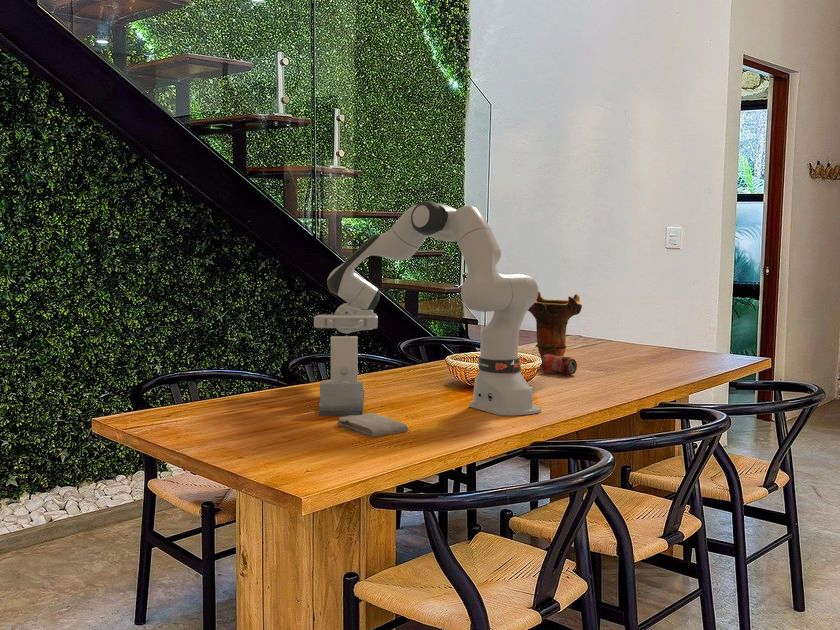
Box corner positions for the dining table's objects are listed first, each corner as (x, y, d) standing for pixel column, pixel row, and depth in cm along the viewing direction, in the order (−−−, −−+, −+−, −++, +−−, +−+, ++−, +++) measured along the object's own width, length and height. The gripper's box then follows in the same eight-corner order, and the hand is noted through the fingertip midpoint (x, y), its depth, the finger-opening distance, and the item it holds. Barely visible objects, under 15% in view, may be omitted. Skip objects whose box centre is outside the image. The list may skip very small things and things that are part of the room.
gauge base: (324, 395, 277) (323, 368, 276) (364, 395, 277) (364, 368, 276) (317, 415, 247) (317, 385, 246) (362, 415, 247) (362, 385, 247)
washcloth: (370, 420, 243) (370, 409, 243) (410, 433, 229) (410, 421, 229) (333, 426, 236) (333, 415, 236) (372, 440, 222) (372, 427, 222)
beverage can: (568, 377, 313) (568, 359, 312) (539, 373, 321) (540, 355, 320) (579, 375, 318) (579, 356, 318) (551, 371, 326) (551, 353, 326)
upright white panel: (324, 390, 274) (324, 335, 272) (357, 390, 274) (357, 335, 273) (322, 395, 266) (322, 338, 264) (357, 395, 266) (357, 338, 265)
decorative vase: (582, 364, 338) (580, 291, 336) (522, 365, 343) (519, 293, 341) (584, 357, 359) (582, 288, 356) (526, 358, 363) (524, 289, 361)
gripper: (314, 309, 289) (311, 314, 275) (377, 309, 290) (377, 314, 276) (314, 328, 289) (311, 334, 276) (377, 329, 290) (377, 334, 277)
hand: (345, 324), depth 276 cm, fingers open, 6 cm apart
